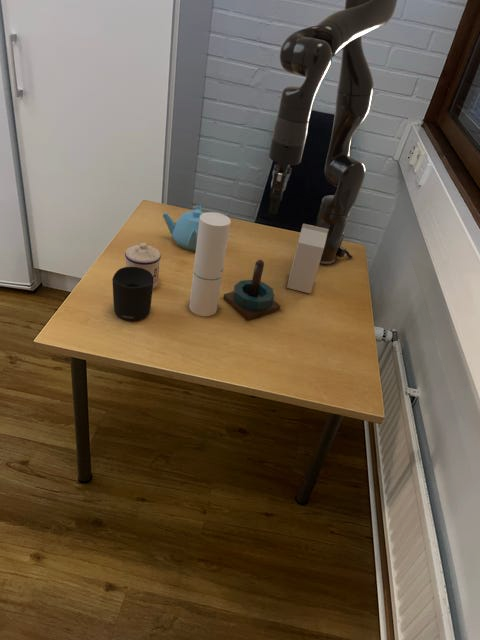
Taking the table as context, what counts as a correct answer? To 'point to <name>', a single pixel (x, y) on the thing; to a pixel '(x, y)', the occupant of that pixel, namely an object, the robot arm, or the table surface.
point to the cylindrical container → (209, 263)
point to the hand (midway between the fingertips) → (274, 206)
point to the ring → (250, 301)
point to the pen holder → (132, 293)
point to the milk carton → (307, 258)
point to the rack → (253, 292)
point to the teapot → (185, 228)
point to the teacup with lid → (144, 259)
